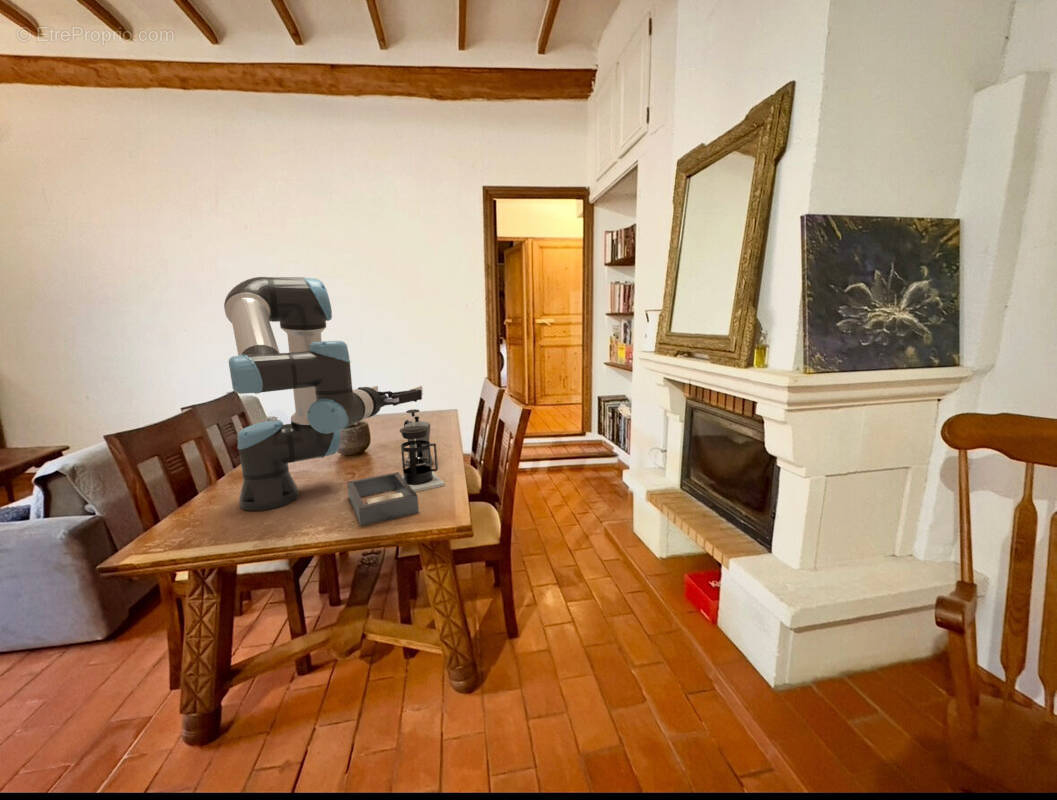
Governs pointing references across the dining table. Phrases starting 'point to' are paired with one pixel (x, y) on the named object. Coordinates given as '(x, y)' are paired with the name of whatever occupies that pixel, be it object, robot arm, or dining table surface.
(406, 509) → the open box
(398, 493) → the offcut stack
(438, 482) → the mat
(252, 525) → the dining table surface
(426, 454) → the coffeepot
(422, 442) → the french press
